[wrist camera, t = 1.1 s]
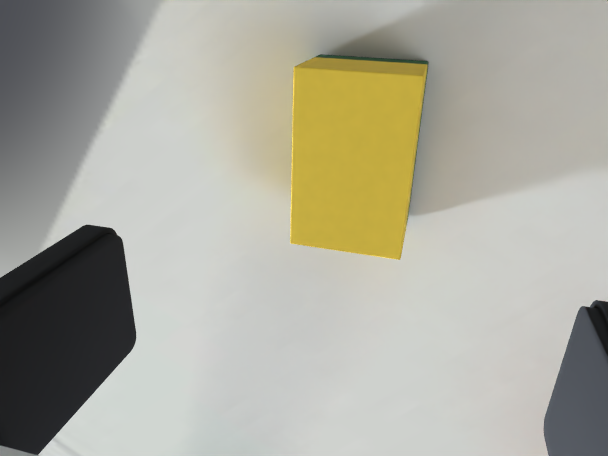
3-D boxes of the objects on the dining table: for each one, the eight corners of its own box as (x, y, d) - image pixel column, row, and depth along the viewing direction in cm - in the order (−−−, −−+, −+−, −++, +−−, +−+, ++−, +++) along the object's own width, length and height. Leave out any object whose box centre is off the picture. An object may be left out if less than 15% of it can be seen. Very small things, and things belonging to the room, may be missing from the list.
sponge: (319, 54, 21) (293, 66, 17) (428, 61, 20) (424, 75, 16) (313, 207, 24) (289, 243, 20) (407, 219, 23) (400, 260, 19)
